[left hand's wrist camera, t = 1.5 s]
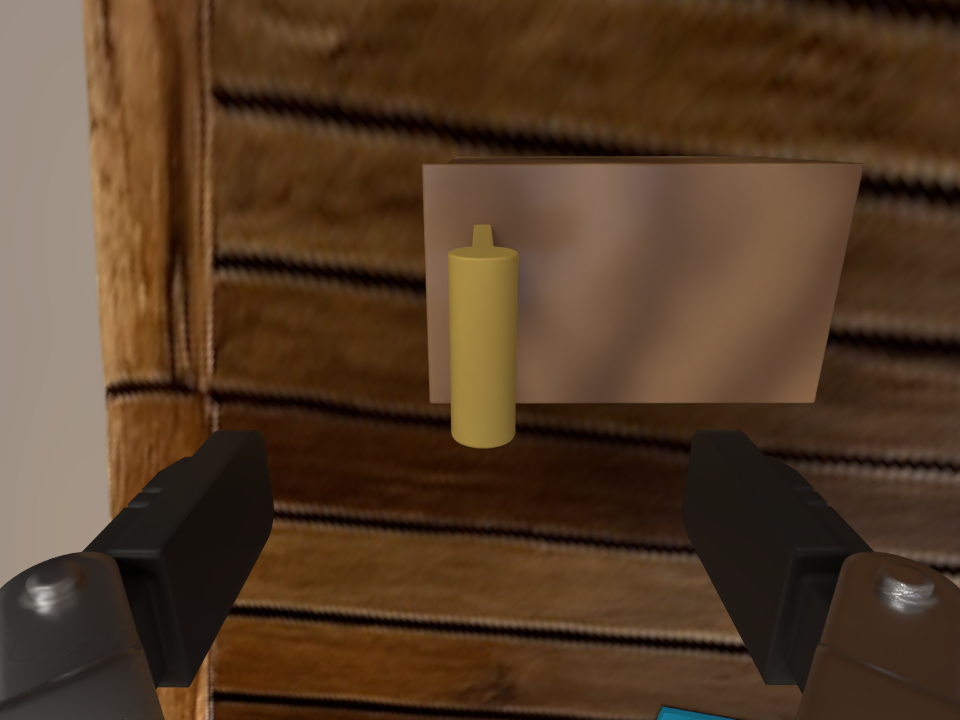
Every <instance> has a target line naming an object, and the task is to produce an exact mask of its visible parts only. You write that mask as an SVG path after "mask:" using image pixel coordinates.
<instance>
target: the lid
mask: <svg viewBox="0 0 960 720" xmlns="http://www.w3.org/2000/svg"><path fill="white" fill-rule="evenodd" d="M862 171H863V164H862V163H851V162H785V163H425V164H423V165H422V180H423V210H424V240H425V270H426V300H427V330H428V360H429V390H430V403H451V431H452V436H453V438H454V439H455V440H456V441H457V442H458V443H460V444H462V445H465V446H468V447H473V448H493V447H498V446H502V445H504V444H506V443H508V442H510V441H511V440H512V439H513V437H514V435H515V411H516V403H814V401H815V397H816V392H817V387H818V382H819V377H820V373H821V368H822V363H823V358H824V353H825V349H826V344H827V339H828V334H829V329H830V324H831V320H832V315H833V310H834V305H835V300H836V296H837V291H838V286H839V281H840V276H841V272H842V267H843V262H844V257H845V252H846V248H847V243H848V238H849V233H850V228H851V223H852V219H853V214H854V209H855V204H856V199H857V195H858V190H859V185H860V180H861V175H862Z"/></svg>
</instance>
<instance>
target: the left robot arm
mask: <svg viewBox="0 0 960 720" xmlns="http://www.w3.org/2000/svg"><path fill="white" fill-rule="evenodd" d="M142 490H143V491H142V493H138V494H137V495H136V496H135V497H134V499H133V500H132V501H131V502H130V503H129V504H128V508H124V509H123V510H122V511H121V512H120V513H119V514H118V515H117V516H116V517H115V518H114V519H113V520H112V521H111V522H110V523H109V524H108V525H107V526H106V528H105V529H104V530H103V531H102V532H101V533H100V534H99V535H98V536H97V537H96V538H95V539H94V540H93V541H92V542H91V543H90V544H89V545H88V546H87V547H86V548H85V549H84V550H83V551H82V552H78V553H71V554H67V555H62V556H59V557H55V558H52V559H49V560H47V561H44V562H41V563H39V564H37V565H35V566H32V567H31V568H29V569H27V570H25V571H23V572H21V573H20V574H18V575H17V576H15V577H14V578H12V579H11V580H10V581H8V582H7V583H6V584H5V585H4V586H3V587H2V588H1V589H0V720H164V716H163V713H162V709H161V706H160V703H159V699H158V696H157V692H156V689H157V687H190V685H191V683H192V681H193V679H194V677H195V675H196V674H197V672H198V670H199V668H200V666H201V664H202V662H203V660H204V659H205V657H206V655H207V653H208V651H209V649H210V647H211V645H212V643H213V642H214V640H215V638H216V636H217V634H218V632H219V630H220V628H221V627H222V625H223V623H224V621H225V619H226V617H227V615H228V613H229V611H230V610H231V608H232V606H233V604H234V602H235V600H236V598H237V596H238V594H239V593H240V591H241V589H242V587H243V585H244V583H245V581H246V579H247V578H248V576H249V574H250V572H251V570H252V568H253V566H254V564H255V562H256V561H257V559H258V557H259V555H260V553H261V551H262V549H263V547H264V546H265V544H266V542H267V540H268V538H269V535H270V532H271V529H272V524H273V515H274V505H273V497H272V490H271V482H270V475H269V468H268V461H267V454H266V446H265V441H264V438H263V435H262V434H261V432H260V431H258V430H219V431H215V432H214V433H213V434H212V435H211V436H210V437H209V438H208V439H207V441H206V442H205V443H204V444H203V445H202V446H201V447H200V448H199V449H198V450H197V452H196V453H195V454H194V455H193V456H192V457H184V458H182V459H181V460H179V461H177V462H175V463H174V464H172V465H170V466H168V467H167V468H165V469H163V470H162V471H160V472H159V473H158V474H157V475H156V476H155V477H154V478H153V479H152V480H151V481H150V482H149V483H148V484H147V485H146V486H145V487H144V488H143V489H142ZM683 515H684V523H685V528H686V532H687V535H688V537H689V539H690V541H691V543H692V545H693V547H694V549H695V551H696V552H697V554H698V556H699V558H700V560H701V562H702V564H703V566H704V568H705V570H706V571H707V573H708V575H709V577H710V579H711V581H712V583H713V585H714V587H715V589H716V591H717V592H718V594H719V596H720V598H721V600H722V602H723V604H724V606H725V608H726V610H727V612H728V613H729V615H730V617H731V619H732V621H733V623H734V625H735V627H736V629H737V631H738V632H739V634H740V636H741V638H742V640H743V642H744V644H745V646H746V648H747V650H748V652H749V653H750V655H751V657H752V659H753V661H754V663H755V665H756V667H757V669H758V671H759V673H760V674H761V676H762V678H763V680H764V682H765V684H766V685H798V687H799V689H800V690H801V692H802V694H803V696H802V699H801V703H800V706H799V709H798V713H797V716H796V720H960V589H959V588H958V587H957V586H956V585H955V584H954V583H953V582H952V581H950V580H949V579H948V578H946V577H945V576H943V575H942V574H940V573H939V572H937V571H935V570H933V569H931V568H930V567H928V566H925V565H923V564H921V563H919V562H916V561H913V560H911V559H908V558H905V557H901V556H898V555H893V554H889V553H882V552H874V551H873V550H872V549H871V548H870V547H869V546H868V545H867V544H866V543H865V542H864V540H863V539H862V538H861V537H860V536H859V535H858V534H857V533H856V532H855V531H854V530H853V529H852V528H851V527H850V526H849V525H848V524H847V523H846V522H845V521H844V520H843V519H842V517H841V516H840V515H839V514H838V513H837V512H836V511H835V510H834V509H833V508H832V507H831V506H827V502H826V501H825V500H824V499H823V498H822V497H821V496H820V494H819V493H818V492H814V491H813V487H812V486H811V485H810V484H809V483H808V482H807V481H806V480H805V479H804V478H803V477H802V476H801V475H800V474H799V473H798V471H796V470H795V469H793V468H791V467H790V466H788V465H786V464H784V463H783V462H781V461H779V460H777V459H776V458H774V457H772V456H764V455H763V454H762V453H761V452H760V450H759V449H758V448H757V447H756V446H755V445H754V444H753V443H752V442H751V440H750V439H749V438H748V437H747V436H746V435H745V434H744V433H743V432H742V431H741V430H697V431H696V432H695V434H694V436H693V439H692V444H691V451H690V458H689V466H688V473H687V480H686V488H685V495H684V503H683Z"/></svg>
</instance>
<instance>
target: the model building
mask: <svg viewBox="0 0 960 720" xmlns="http://www.w3.org/2000/svg"><path fill="white" fill-rule="evenodd" d="M657 720H735V719H730V718H724V717H718V716H713V715H707V714H702V713H696V712H690V711H685V710H679V709H674V708H668V707H662V709H661V711H660V713H659V716H658V718H657Z"/></svg>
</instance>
